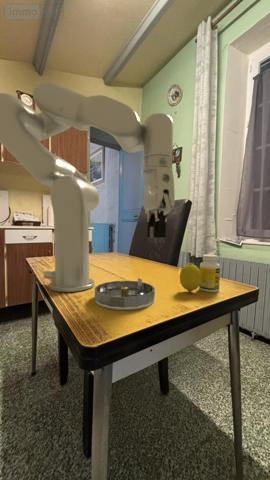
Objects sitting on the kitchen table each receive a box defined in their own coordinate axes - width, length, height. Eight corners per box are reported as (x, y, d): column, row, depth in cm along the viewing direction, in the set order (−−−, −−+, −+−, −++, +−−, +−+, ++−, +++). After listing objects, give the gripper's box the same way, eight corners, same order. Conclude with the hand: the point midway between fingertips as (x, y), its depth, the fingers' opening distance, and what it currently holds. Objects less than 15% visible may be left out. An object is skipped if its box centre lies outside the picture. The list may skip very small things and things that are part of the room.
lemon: (203, 295, 56) (204, 264, 55) (181, 295, 56) (182, 264, 55) (197, 289, 61) (198, 261, 61) (177, 289, 61) (178, 261, 61)
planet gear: (152, 243, 55) (152, 226, 55) (146, 242, 59) (146, 226, 59) (166, 242, 56) (167, 226, 56) (159, 241, 60) (160, 226, 60)
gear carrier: (85, 308, 46) (85, 285, 46) (105, 289, 60) (105, 271, 60) (151, 313, 44) (151, 288, 44) (156, 292, 58) (156, 274, 58)
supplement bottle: (217, 293, 57) (219, 257, 57) (197, 290, 60) (198, 255, 59) (220, 288, 62) (221, 254, 61) (201, 286, 65) (202, 253, 64)
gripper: (187, 159, 50) (185, 238, 51) (156, 175, 65) (155, 235, 67) (158, 155, 47) (156, 238, 49) (133, 172, 63) (132, 235, 64)
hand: (156, 236), depth 58 cm, fingers closed on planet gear, 3 cm apart
